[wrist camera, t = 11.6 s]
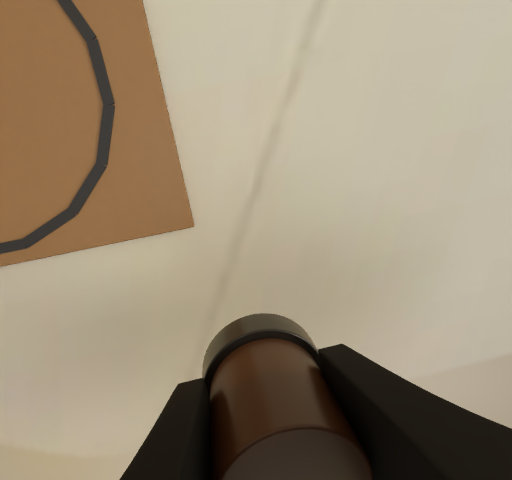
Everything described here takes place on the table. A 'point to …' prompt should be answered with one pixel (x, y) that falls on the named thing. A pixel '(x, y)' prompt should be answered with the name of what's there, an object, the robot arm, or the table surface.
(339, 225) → the table surface
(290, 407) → the cylinder
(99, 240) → the sheet
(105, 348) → the table surface
